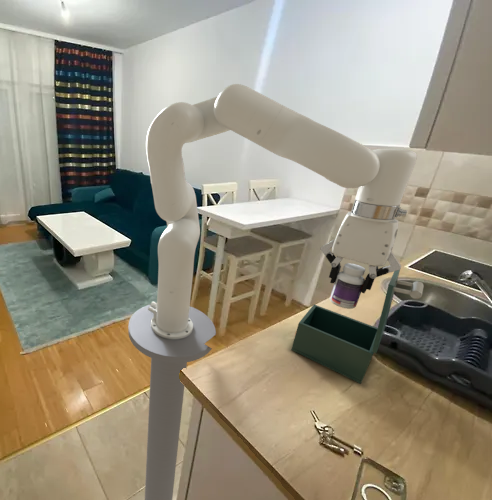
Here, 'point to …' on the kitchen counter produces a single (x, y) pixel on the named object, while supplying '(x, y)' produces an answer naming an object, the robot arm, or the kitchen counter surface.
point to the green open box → (335, 342)
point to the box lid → (414, 293)
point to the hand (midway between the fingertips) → (348, 285)
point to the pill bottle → (348, 286)
